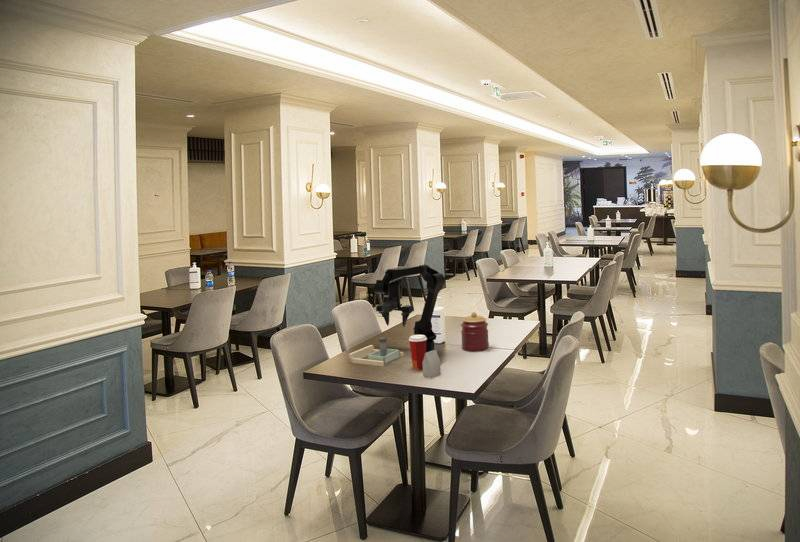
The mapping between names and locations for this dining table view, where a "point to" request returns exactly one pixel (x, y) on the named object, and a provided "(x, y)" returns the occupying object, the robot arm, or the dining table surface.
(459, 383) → the dining table surface
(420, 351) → the paper cup
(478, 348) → the canister
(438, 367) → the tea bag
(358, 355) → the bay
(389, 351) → the green base with post
